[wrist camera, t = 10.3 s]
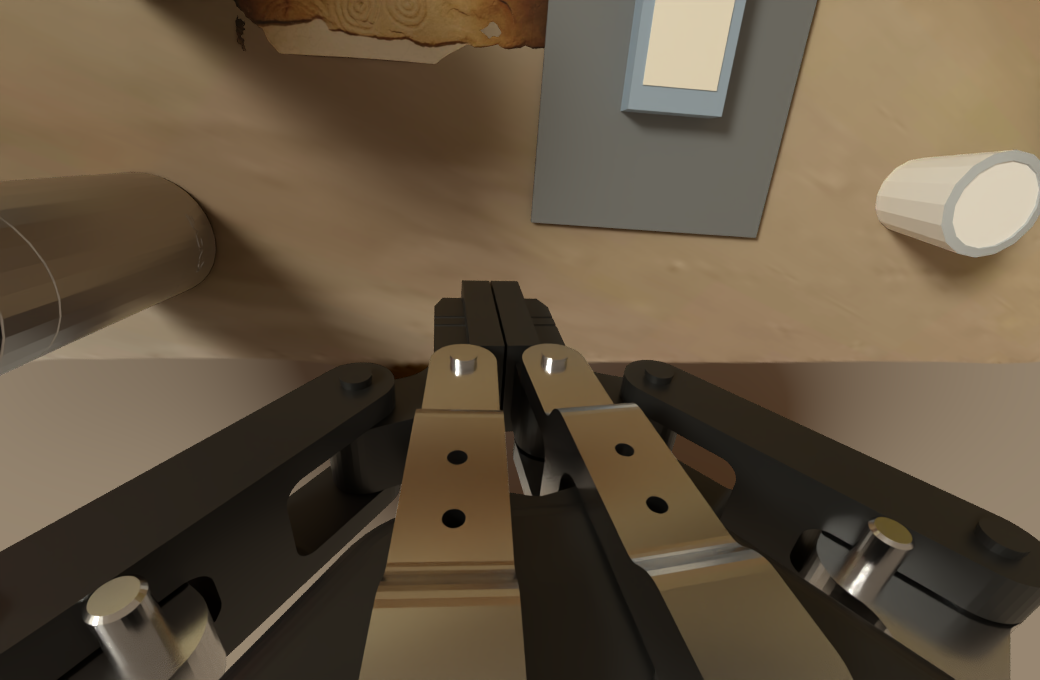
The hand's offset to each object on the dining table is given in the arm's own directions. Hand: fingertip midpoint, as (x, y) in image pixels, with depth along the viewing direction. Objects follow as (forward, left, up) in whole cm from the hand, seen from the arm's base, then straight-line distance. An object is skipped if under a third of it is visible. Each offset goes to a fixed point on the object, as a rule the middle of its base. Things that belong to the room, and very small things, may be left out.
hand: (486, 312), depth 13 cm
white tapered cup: (+33, +3, -26) cm, 42 cm away
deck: (+12, +7, -24) cm, 28 cm away
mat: (+12, +10, -26) cm, 30 cm away
